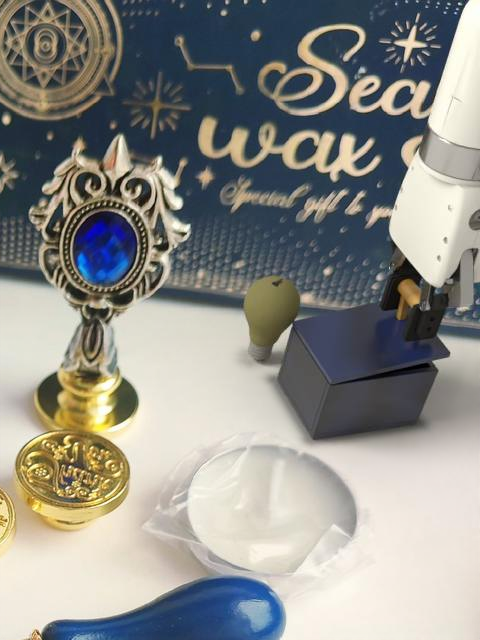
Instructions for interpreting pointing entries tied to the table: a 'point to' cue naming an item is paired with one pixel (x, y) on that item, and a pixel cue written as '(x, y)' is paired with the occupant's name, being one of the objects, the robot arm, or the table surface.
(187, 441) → the table surface
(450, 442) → the table surface
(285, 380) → the box
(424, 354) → the lid
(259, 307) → the light bulb
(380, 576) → the table surface
